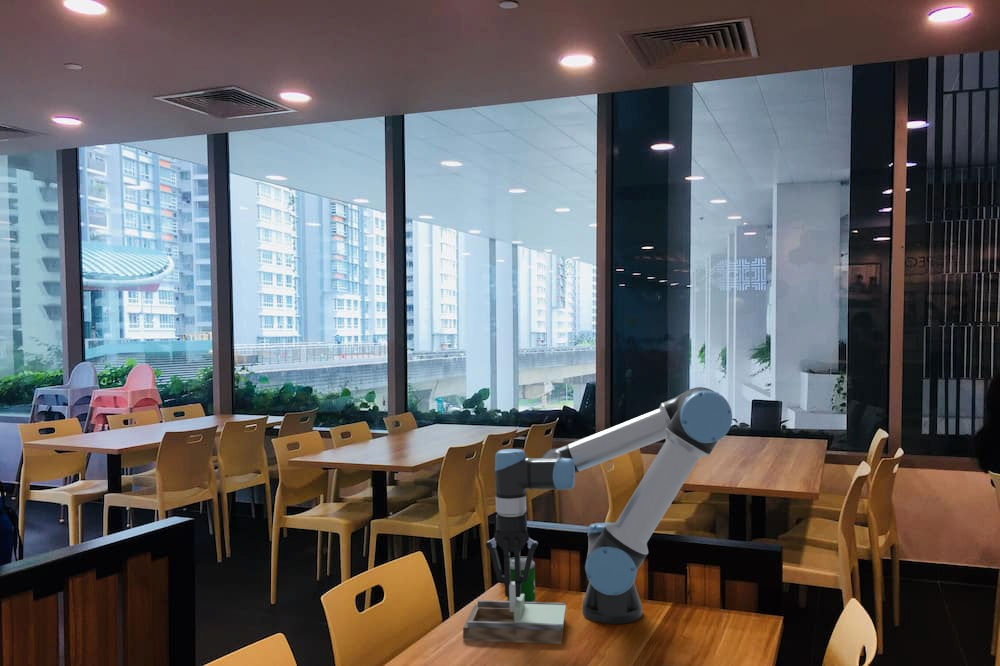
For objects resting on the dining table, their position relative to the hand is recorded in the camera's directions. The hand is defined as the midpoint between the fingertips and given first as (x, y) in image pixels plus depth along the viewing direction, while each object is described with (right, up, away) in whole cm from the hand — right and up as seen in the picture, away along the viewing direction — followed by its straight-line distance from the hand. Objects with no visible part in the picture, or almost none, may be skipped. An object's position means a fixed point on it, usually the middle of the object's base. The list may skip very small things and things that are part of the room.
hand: (513, 609), depth 188 cm
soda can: (+2, -5, +18) cm, 19 cm away
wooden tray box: (+1, -5, 0) cm, 5 cm away
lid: (+7, -1, -1) cm, 7 cm away
